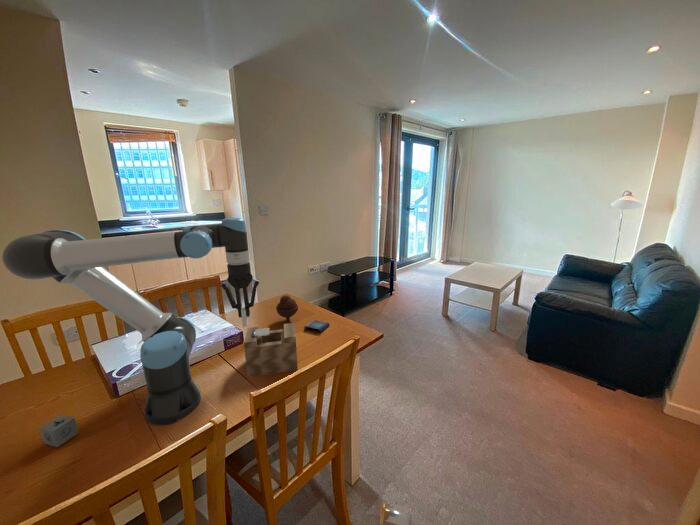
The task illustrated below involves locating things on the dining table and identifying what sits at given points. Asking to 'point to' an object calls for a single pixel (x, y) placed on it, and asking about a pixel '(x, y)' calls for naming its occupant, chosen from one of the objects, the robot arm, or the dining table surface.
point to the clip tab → (260, 332)
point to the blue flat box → (317, 325)
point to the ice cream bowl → (287, 307)
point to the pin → (394, 516)
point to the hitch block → (271, 351)
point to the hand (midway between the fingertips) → (245, 324)
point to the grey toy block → (59, 430)
